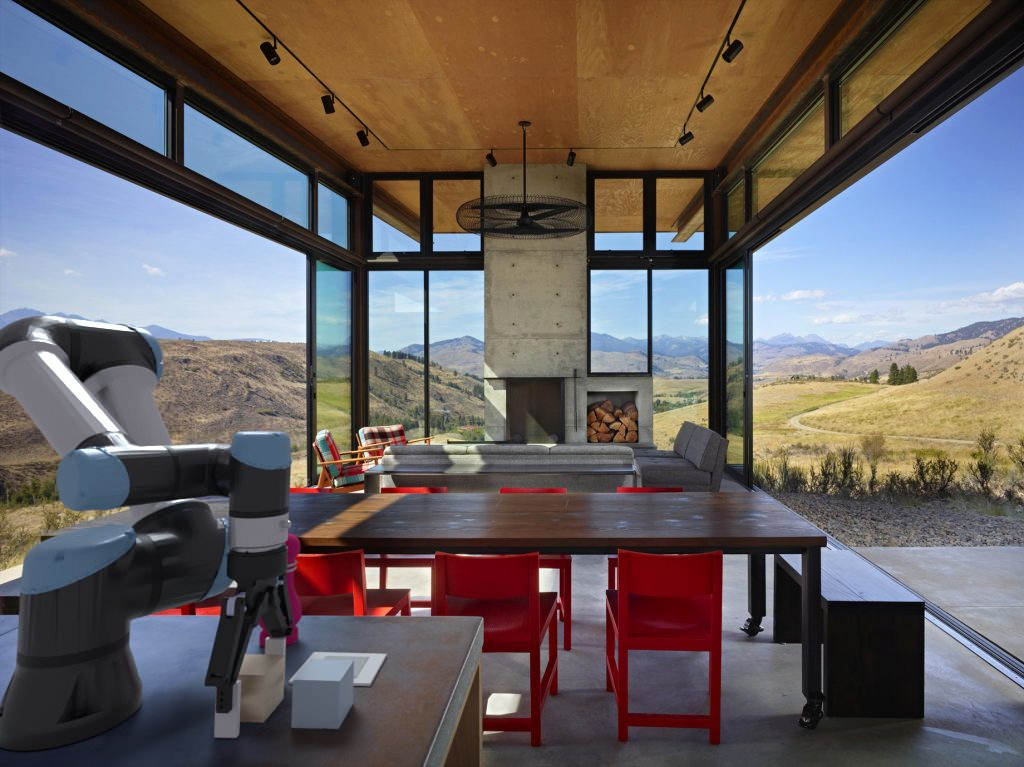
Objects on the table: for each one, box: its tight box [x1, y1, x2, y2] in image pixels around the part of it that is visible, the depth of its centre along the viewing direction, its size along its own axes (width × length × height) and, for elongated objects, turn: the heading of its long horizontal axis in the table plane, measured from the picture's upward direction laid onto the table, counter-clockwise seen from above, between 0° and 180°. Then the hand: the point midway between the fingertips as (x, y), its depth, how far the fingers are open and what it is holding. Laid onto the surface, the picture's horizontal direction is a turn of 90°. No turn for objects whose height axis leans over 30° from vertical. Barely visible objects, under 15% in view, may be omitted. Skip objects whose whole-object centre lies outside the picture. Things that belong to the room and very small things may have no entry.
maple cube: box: [237, 653, 286, 723], centre depth 75 cm, size 6×6×6 cm
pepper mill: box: [258, 532, 303, 648], centre depth 98 cm, size 7×7×20 cm
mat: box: [288, 651, 388, 687], centre depth 87 cm, size 12×10×1 cm
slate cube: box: [290, 659, 354, 730], centre depth 74 cm, size 6×6×6 cm
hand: (252, 708), depth 75 cm, fingers open, 12 cm apart
